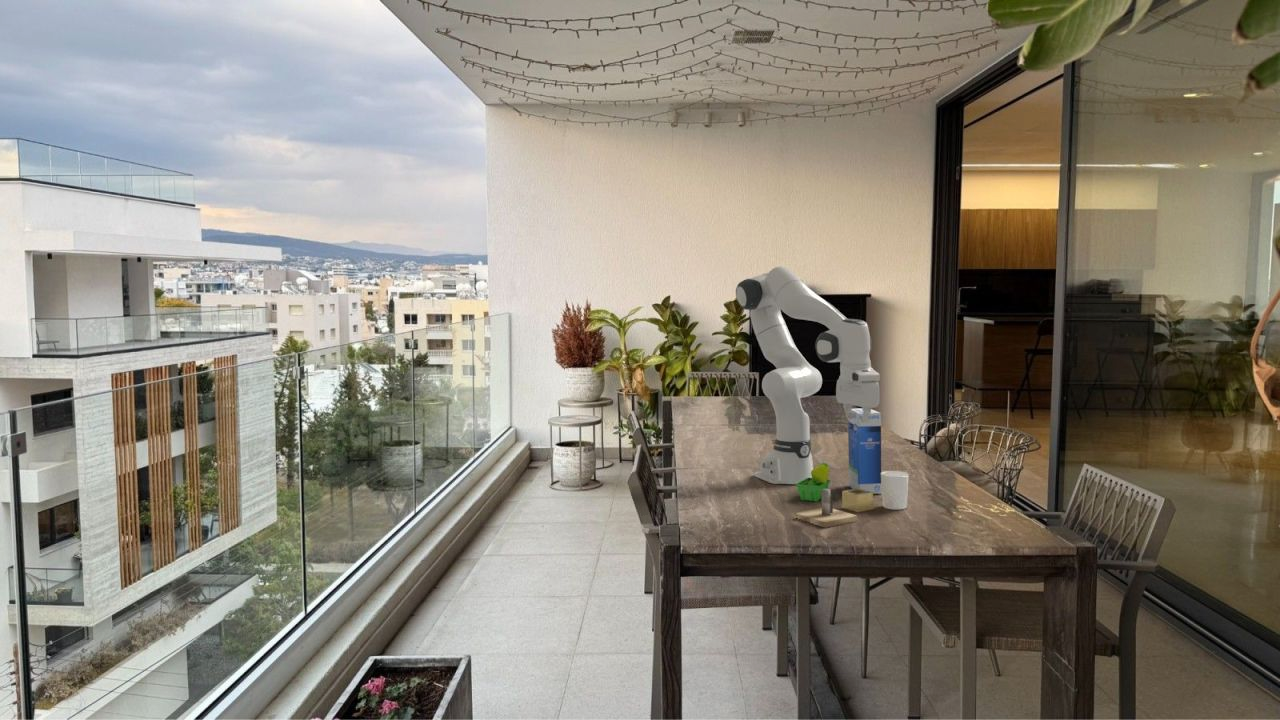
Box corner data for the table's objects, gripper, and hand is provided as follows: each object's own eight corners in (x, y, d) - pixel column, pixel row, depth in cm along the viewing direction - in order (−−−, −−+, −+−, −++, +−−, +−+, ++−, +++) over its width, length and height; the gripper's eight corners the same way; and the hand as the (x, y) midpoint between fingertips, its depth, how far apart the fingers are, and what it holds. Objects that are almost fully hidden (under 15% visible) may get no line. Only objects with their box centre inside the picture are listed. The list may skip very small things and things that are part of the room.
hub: (842, 507, 247) (842, 491, 247) (857, 504, 250) (857, 488, 250) (857, 512, 242) (857, 495, 241) (872, 509, 245) (872, 492, 244)
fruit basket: (807, 492, 267) (807, 457, 266) (835, 495, 263) (834, 460, 262) (795, 500, 257) (794, 464, 257) (823, 503, 253) (822, 466, 252)
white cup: (890, 511, 242) (890, 477, 241) (875, 505, 249) (875, 472, 249) (914, 509, 244) (914, 475, 243) (898, 502, 251) (898, 470, 251)
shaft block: (795, 518, 236) (795, 488, 236) (827, 512, 242) (827, 483, 242) (825, 527, 226) (824, 496, 226) (857, 520, 232) (857, 490, 232)
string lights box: (882, 494, 263) (882, 412, 261) (858, 494, 262) (857, 413, 261) (870, 485, 276) (870, 407, 274) (847, 485, 276) (846, 408, 274)
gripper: (830, 372, 255) (831, 417, 256) (862, 376, 236) (864, 425, 236) (849, 371, 257) (850, 416, 258) (882, 375, 237) (884, 423, 238)
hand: (857, 420), depth 247 cm, fingers open, 8 cm apart
